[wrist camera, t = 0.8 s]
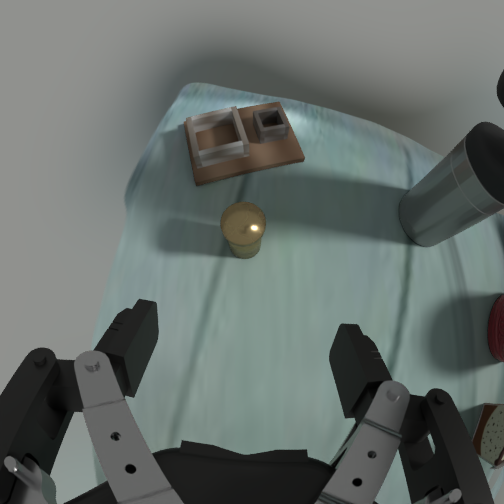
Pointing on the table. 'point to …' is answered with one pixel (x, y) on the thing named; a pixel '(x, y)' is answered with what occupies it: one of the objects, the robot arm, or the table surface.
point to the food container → (490, 435)
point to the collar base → (240, 141)
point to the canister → (497, 329)
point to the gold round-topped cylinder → (243, 228)
